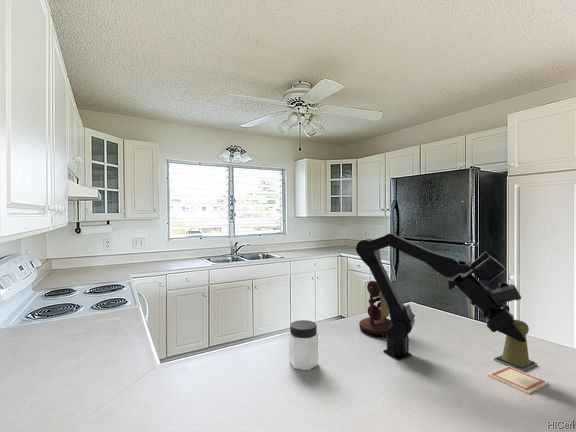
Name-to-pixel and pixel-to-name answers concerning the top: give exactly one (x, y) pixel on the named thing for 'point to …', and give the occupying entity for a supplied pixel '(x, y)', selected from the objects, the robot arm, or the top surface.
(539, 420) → the top surface
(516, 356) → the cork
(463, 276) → the robot arm
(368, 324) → the brown wooden figurine
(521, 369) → the ink pad
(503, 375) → the print card
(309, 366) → the jar
